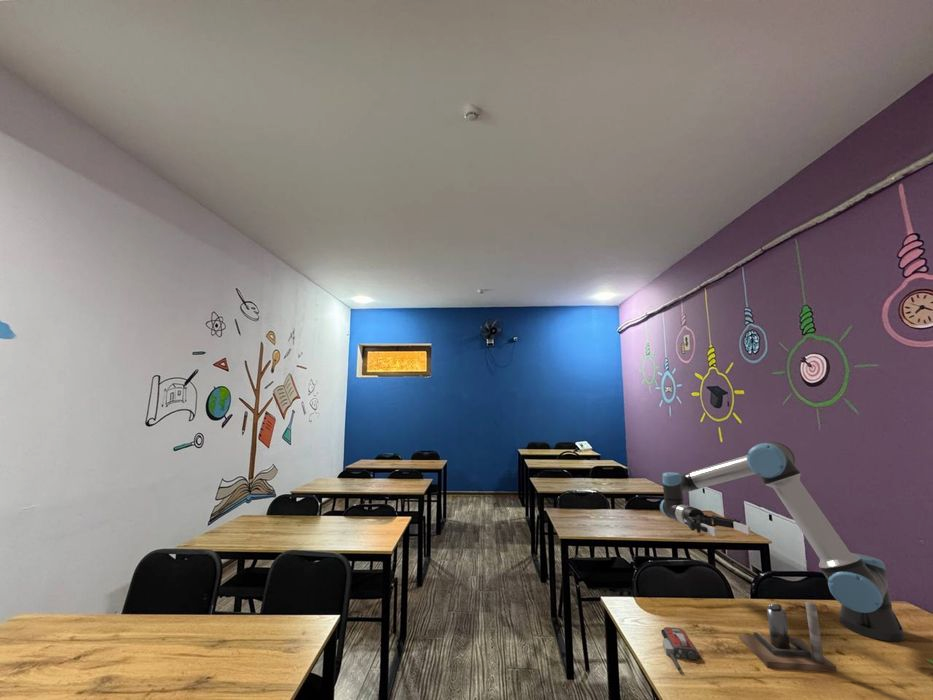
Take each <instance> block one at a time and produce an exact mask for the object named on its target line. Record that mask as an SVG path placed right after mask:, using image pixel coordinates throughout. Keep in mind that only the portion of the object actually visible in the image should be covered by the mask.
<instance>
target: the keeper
mask: <svg viewBox="0 0 933 700" xmlns="http://www.w3.org/2000/svg"><path fill="white" fill-rule="evenodd" d="M804 603H805V611H806V618H807V623H808V624H807V625H808V631H809V632H808V633H809V641H810V644H809V643H808V642H806V641H805V639H803V638H802V637H798V636H790V635H789V642H790V649H778V648H776V647H774V646H773V645H772V644H771V639H770V635H763V634H762V635H761V634H759V633H758V632H755V631H754V632H753V634H744V633H743V634H742V633H741V634H740V633H738V640H739V639H740V640H741V641H742V642H743V643H744V644H745V645H746V646H747V647H748V648H749V649H750V650H751V651H752V652H753V653H754V654H755V655H756V656H757V657H758V658H759V659H760V660H761V661H762V662H763V663H764V664H763V663H762V662H761V661H760V660H759V659H758V658H757V657H756V656H755V655H754V654H753V653H752V654H753V655H754V656H755V657H756V658H757V659H758V660H759V661H760V662H761V663H762V664H763V665H764V666H765V667H766V668H771V669H773V668H774V669H786V670H787V669H788V670H803V671H805V670H806V671H819V672H832V673H837V671H838V670H837V665H836V664H834V663H833V662H832V661H830V660H829V659H828V658H826V657H825V656H824V651H823V645H822V636H821V631H820V623H819V617H818V612H823V613H824V612H825V613H829V611H830V610H829V607H828V605H827V604H824V603H823V604H822V603H814V602H811V601H805V602H804ZM740 640H739V641H740ZM741 641H740V642H741ZM742 642H741V643H742ZM743 643H742V644H743ZM744 644H743V645H744ZM745 645H744V646H745ZM746 646H745V647H746ZM747 647H746V648H747ZM749 649H748V650H749ZM750 650H749V651H750ZM751 651H750V652H751Z"/></svg>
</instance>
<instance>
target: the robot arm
mask: <svg viewBox="0 0 933 700" xmlns="http://www.w3.org/2000/svg"><path fill="white" fill-rule="evenodd" d="M795 464H796V456H795V454H794V452H793V450H791V448H790V447H789V446H787V445H785V444H784V443H781V442H777V441H769V442H761V443H759V444H756V445H754V446H752V447H751V448H750V449H749V451H748V452H747V454H746V455H743V456H739V457H736V458H733V459H729V460H726V461H723V462H720V463H716V464H713V465H710V466H706V467H703V468H699V469H696V470H693V471H690V472H686V473H683V474H680V473H679V472H671V471H668V472H666V471H665V472H662V487H663V499H662V500H661V501H660V504H659V510H660V513H661V514H662V515H664V516H665V517H667V518H668V519H671V520H674V521H677V522H680V523H682V524H684V525H685V526H688V528H689V529H690V530H691V531H695V530H696V533H698V534H701V532H702V533H705V534H708V535H710V536H712V537H717V536H718V535H717V528H716V526H717V527H723V528H730V529H733V530H734V531H737V532H740V533H743V534H746V535H751V526H749V525H745V524H744V523H741V520H739V519H738V520H737V519H736V518H735V519H731V518H728V517H727V518H726V517H722V516H717V515H707V514H705V513H704V512H703V511H702V510H701V509H699V508H697V507H693V506H691V505H687V504H685V503H684V494H685V493H688V492H693V491H696V490H699V489H703V488H706V487H707V488H708V487H710V486H715V485H718V484H723V483H726V482H729V481H733V480H737V479H741V478H744V477H749V476H753V475H758V476H759V477H760V479H761V480H762V481H763V483H764V484H765V486H767V487H770V488H771V489H773V490H774V492H775V493H776V494H777V496H778V498H779V499H780V500H781V502H782V505H784V507H785V509H786V510H787V512H788V513H789V514H790V516H791V517H792V519H793V520H794V522H795V524H796V525H797V526H798V528H799V530H800V531H801V533H802V534H803V536H804V537H805V539H806V540H807V542H808V543H809V545H810V546H811V548H812V549H813V551H814V552H815V554H816V556H817V557H818V559H819V563H818V567H819V568H820V570H821V572H822V573H823V575H824V576H825V578H826V579H827V585H828V589H829V592H830V594H831V596H833V598H834V600H836V601H837V602H839V603H840V604H841V606H840V611H839V615H838V616H839V621H840V623H841V624H842V626H844V627H845V628H847V629H849V630H851V631H853V632H855V633H857V634H860V635H863V636H866V637H868V638H872V639H876V640H879V641H886V642H902V641H904V640H906V637H905V631H904V628H903V627H902V624H901V622H900V621H899V618H898V617H897V615H896V613H895V612H894V609H893V605H892V599H891V595H890V589H889V584H888V583H889V582H888V577H887V569H886V565H885V563H884V561H882V560H881V559H879V558H876V557H873V556H869V555H865V554H861V553H853V552H851V551H850V550H849V549H848V547H847V545H846V544H845V543H844V541H843V540H842V539H841V537H840V535H839V534H838V533H837V532H836V530H835V528H834V527H833V526H832V524H831V523H830V522H829V520H828V519H827V517H826V516H825V514H824V513H823V512H822V510H821V508H820V507H819V505H817V503H816V502H815V500H814V498H813V497H812V496H811V494H810V493H809V492H808V490H807V489H806V487H805V486H804V484H803V483H802V481H801V480H800V479H801V475H802V473H801V472H800V470H799V468H797V466H796V465H795Z"/></svg>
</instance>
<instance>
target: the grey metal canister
mask: <svg viewBox="0 0 933 700" xmlns="http://www.w3.org/2000/svg"><path fill="white" fill-rule="evenodd" d="M766 614H767V615H766V616H767V622H768V629H769V630H768V632H769V636H770V639H771V644H772V645H773V646H774V647H776V648H778V649H790V642H789V636H790V635H789V629H788V621H787V615H786V611H785V609H783V607H782V606H781V604H779V603H774V604H773V603H772V604H768V606H766Z"/></svg>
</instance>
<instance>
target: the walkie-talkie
mask: <svg viewBox="0 0 933 700" xmlns="http://www.w3.org/2000/svg"><path fill="white" fill-rule="evenodd" d="M660 632H661V635H662V636H663V638H664V639H663V641H662V648H663V651H664V652H665V655H666V656H669V657H670V658H671V661H672V662H673V664H674V665H675V668H676V669H677V670H678V671H681V669H682V667H681V666H680V664H679V662H678V661H677V659H676V658H678V659H680V658H681V659H682V658H683V659H689V660H698V658H699V657H698V649H697V648H696V647H695V645H694V643H693V642H692V640H691V639H690V638H689V636H688V635H687V633H686V631H685V630H683V628H679V627H670V626H669V627H668V626H666V627H664V628H663V629H661V631H660Z"/></svg>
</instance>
